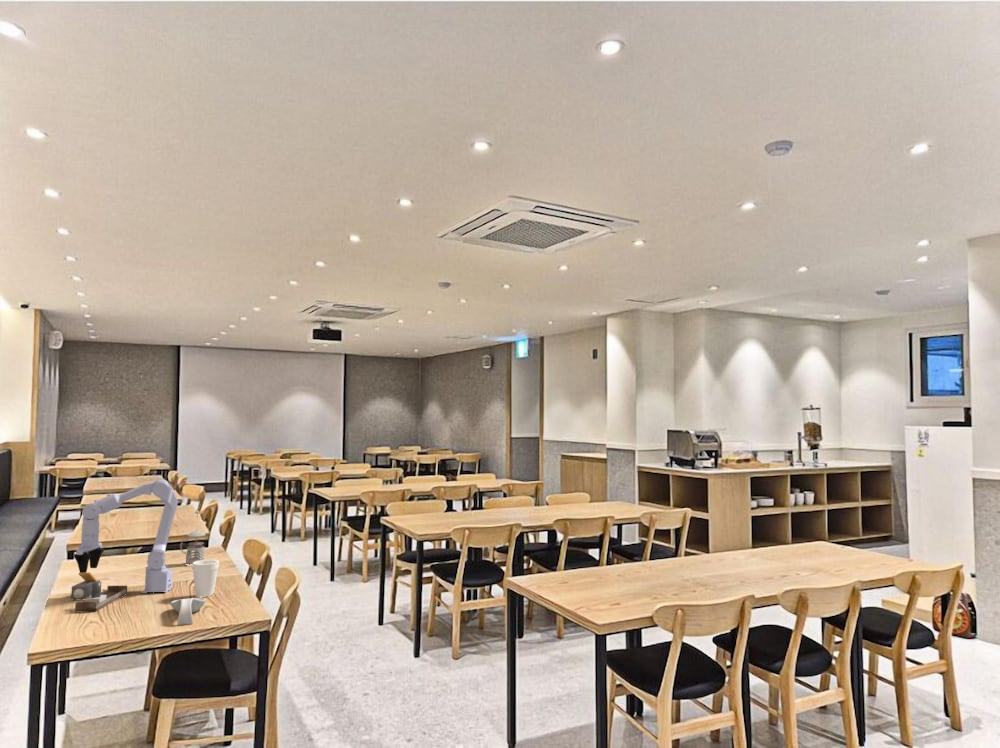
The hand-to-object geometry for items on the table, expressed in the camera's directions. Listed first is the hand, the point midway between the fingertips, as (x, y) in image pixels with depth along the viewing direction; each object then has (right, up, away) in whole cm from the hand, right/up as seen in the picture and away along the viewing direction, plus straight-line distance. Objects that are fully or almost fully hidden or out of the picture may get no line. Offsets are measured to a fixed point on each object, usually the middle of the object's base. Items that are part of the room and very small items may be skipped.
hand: (88, 570), depth 261 cm
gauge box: (-1, -10, 0) cm, 10 cm away
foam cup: (+43, -11, +3) cm, 45 cm away
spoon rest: (+49, -10, -22) cm, 54 cm away
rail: (+10, -10, -8) cm, 16 cm away
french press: (+14, -15, +59) cm, 62 cm away
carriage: (+11, -8, -13) cm, 19 cm away
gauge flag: (-1, -3, +1) cm, 3 cm away
